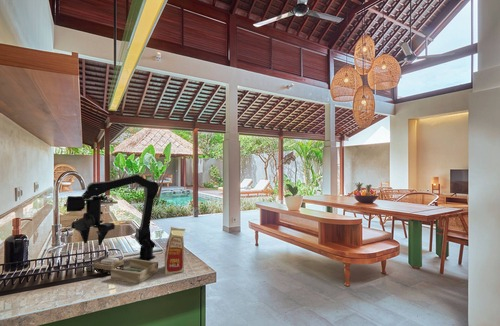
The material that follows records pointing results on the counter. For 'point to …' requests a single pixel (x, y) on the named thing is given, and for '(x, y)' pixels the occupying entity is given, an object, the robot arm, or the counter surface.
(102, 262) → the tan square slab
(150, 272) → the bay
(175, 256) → the milk carton
